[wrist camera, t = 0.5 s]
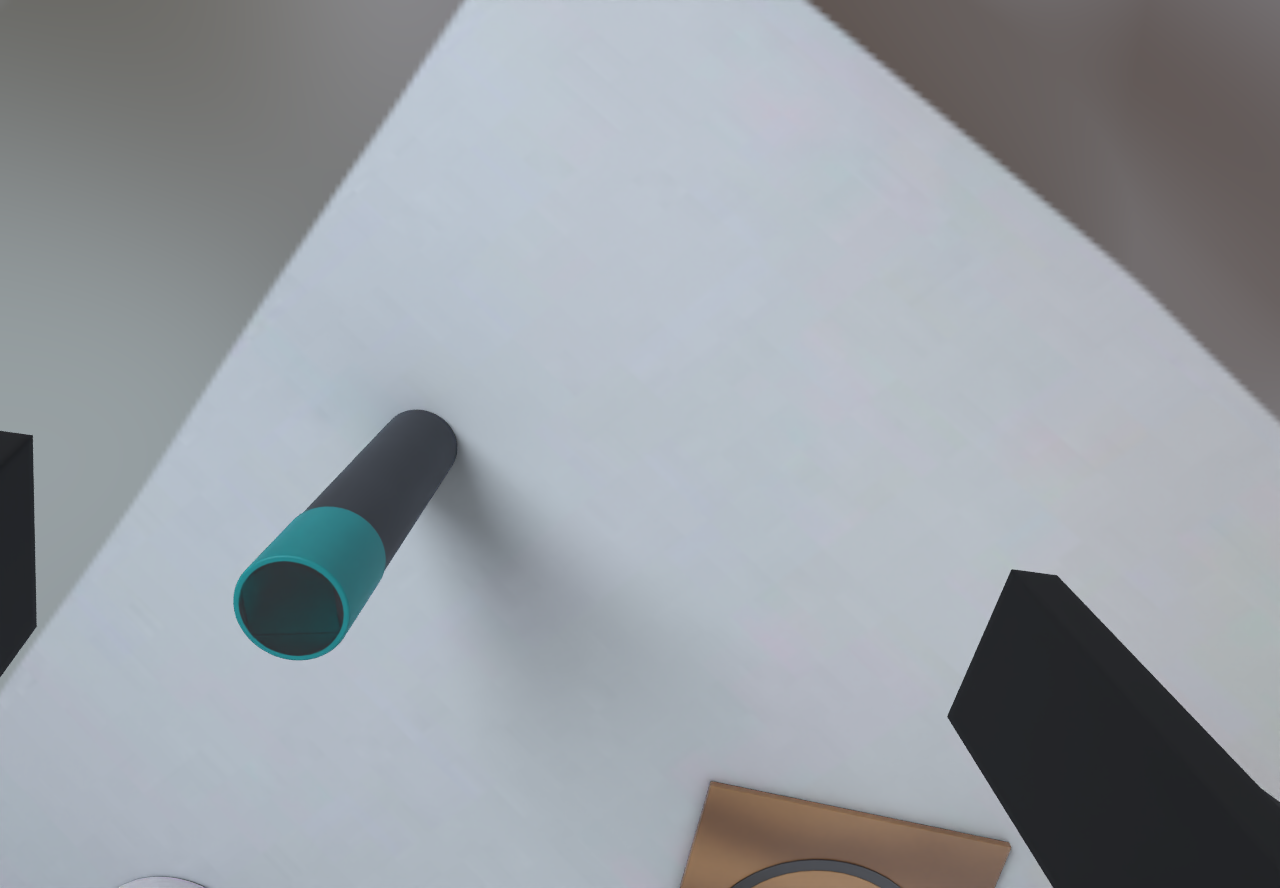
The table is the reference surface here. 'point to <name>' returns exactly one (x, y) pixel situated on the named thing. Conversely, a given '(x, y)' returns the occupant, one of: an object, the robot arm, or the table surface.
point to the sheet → (828, 847)
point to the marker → (343, 541)
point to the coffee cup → (160, 883)
